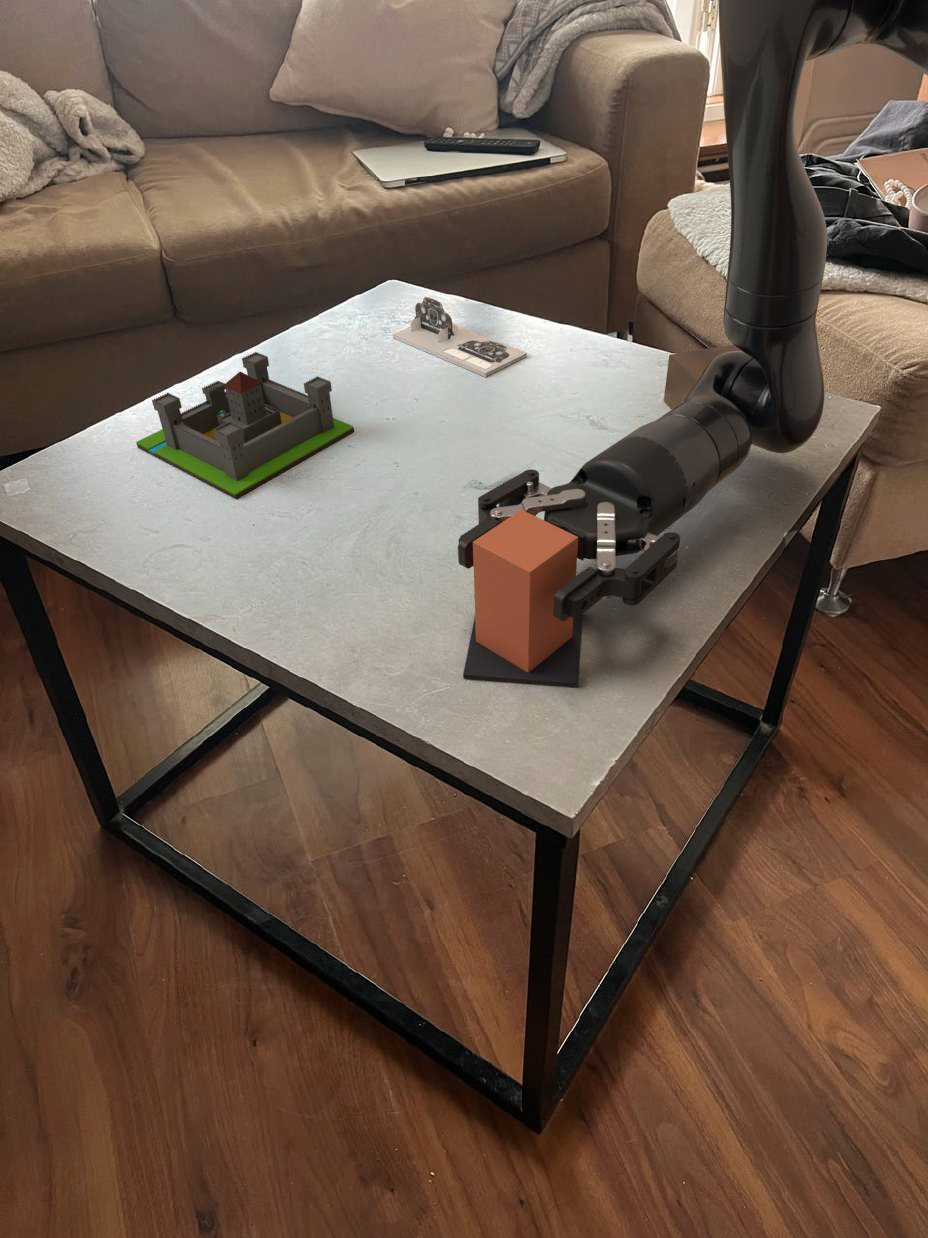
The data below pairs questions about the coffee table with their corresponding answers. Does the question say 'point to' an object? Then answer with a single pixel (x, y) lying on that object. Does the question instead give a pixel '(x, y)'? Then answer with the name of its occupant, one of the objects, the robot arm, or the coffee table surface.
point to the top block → (522, 588)
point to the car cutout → (456, 341)
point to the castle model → (245, 429)
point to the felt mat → (493, 667)
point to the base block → (688, 371)
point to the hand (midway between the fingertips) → (508, 581)
